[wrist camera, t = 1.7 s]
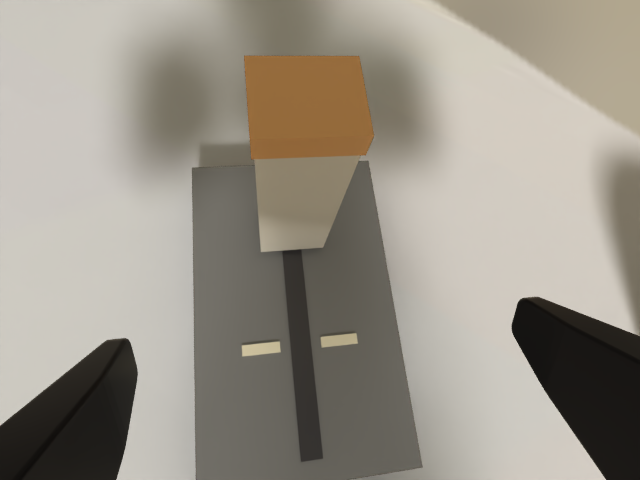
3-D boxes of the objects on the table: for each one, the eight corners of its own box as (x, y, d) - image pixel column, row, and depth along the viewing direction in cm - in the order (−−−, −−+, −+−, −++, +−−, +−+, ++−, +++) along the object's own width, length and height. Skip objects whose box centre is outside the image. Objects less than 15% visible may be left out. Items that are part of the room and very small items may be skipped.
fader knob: (325, 249, 20) (374, 136, 11) (259, 254, 20) (249, 139, 10) (318, 200, 21) (359, 56, 12) (255, 203, 21) (243, 55, 11)
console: (405, 457, 20) (423, 467, 18) (204, 490, 19) (195, 505, 16) (359, 180, 25) (368, 159, 23) (199, 187, 24) (191, 166, 21)
